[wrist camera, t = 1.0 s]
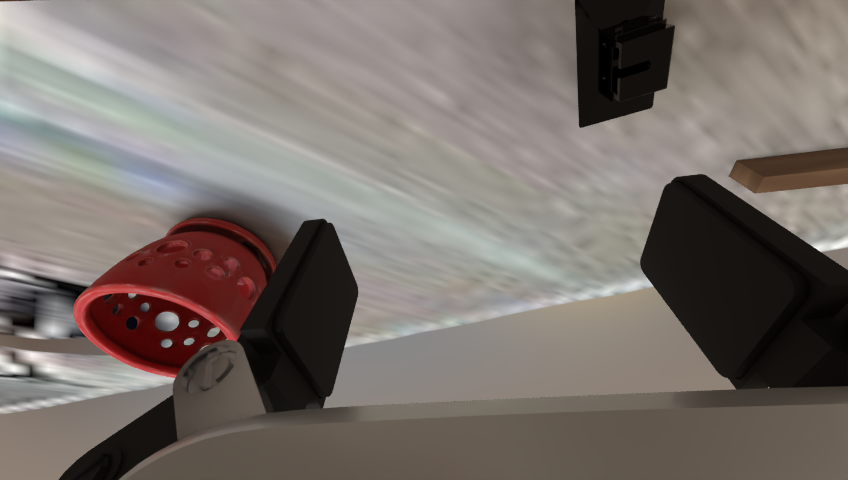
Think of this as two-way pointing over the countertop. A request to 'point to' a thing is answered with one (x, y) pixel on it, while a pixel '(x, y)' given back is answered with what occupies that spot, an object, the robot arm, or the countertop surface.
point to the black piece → (620, 56)
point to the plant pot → (177, 294)
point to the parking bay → (793, 171)
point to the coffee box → (15, 0)
